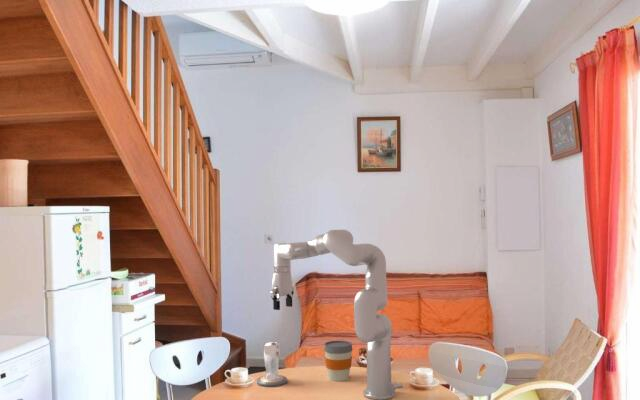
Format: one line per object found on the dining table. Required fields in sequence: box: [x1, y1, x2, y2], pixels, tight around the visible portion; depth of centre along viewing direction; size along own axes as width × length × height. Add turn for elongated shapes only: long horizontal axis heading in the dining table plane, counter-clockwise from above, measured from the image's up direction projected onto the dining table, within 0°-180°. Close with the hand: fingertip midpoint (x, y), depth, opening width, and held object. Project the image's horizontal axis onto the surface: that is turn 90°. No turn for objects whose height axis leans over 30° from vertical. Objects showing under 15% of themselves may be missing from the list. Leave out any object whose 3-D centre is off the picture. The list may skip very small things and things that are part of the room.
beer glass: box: [263, 341, 281, 381], centre depth 215 cm, size 7×7×15 cm
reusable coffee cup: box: [323, 340, 353, 382], centre depth 219 cm, size 13×13×15 cm
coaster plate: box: [256, 374, 288, 388], centre depth 215 cm, size 13×13×2 cm
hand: (283, 308), depth 225 cm, fingers open, 9 cm apart
